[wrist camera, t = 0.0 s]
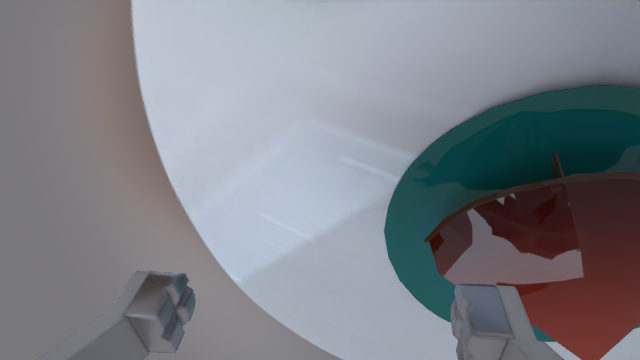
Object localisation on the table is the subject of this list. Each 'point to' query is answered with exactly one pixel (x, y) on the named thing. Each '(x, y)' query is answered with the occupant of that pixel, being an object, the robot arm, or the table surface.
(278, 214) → the table surface
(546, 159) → the boat on round base
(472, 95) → the table surface
